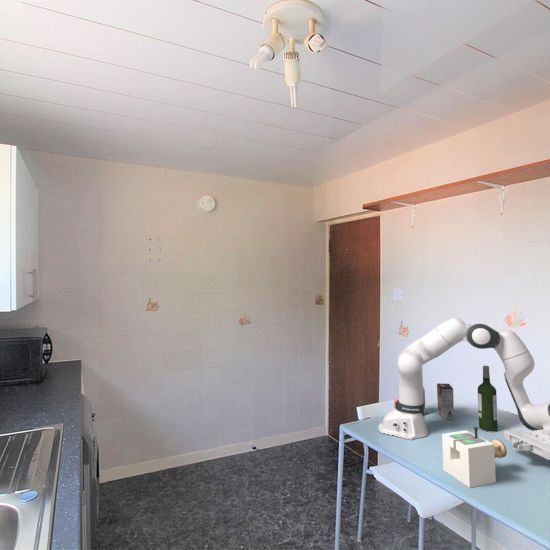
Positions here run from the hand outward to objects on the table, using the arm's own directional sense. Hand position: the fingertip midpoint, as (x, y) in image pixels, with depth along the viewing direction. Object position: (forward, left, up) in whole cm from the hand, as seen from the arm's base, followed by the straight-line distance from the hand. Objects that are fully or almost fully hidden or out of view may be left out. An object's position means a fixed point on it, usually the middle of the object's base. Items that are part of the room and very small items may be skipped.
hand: (515, 446), depth 140 cm
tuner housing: (-17, -14, -8) cm, 23 cm away
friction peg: (-11, -9, -3) cm, 14 cm away
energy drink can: (-37, +47, -8) cm, 60 cm away
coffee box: (-24, +49, -8) cm, 55 cm away
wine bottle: (-5, +38, -8) cm, 39 cm away
